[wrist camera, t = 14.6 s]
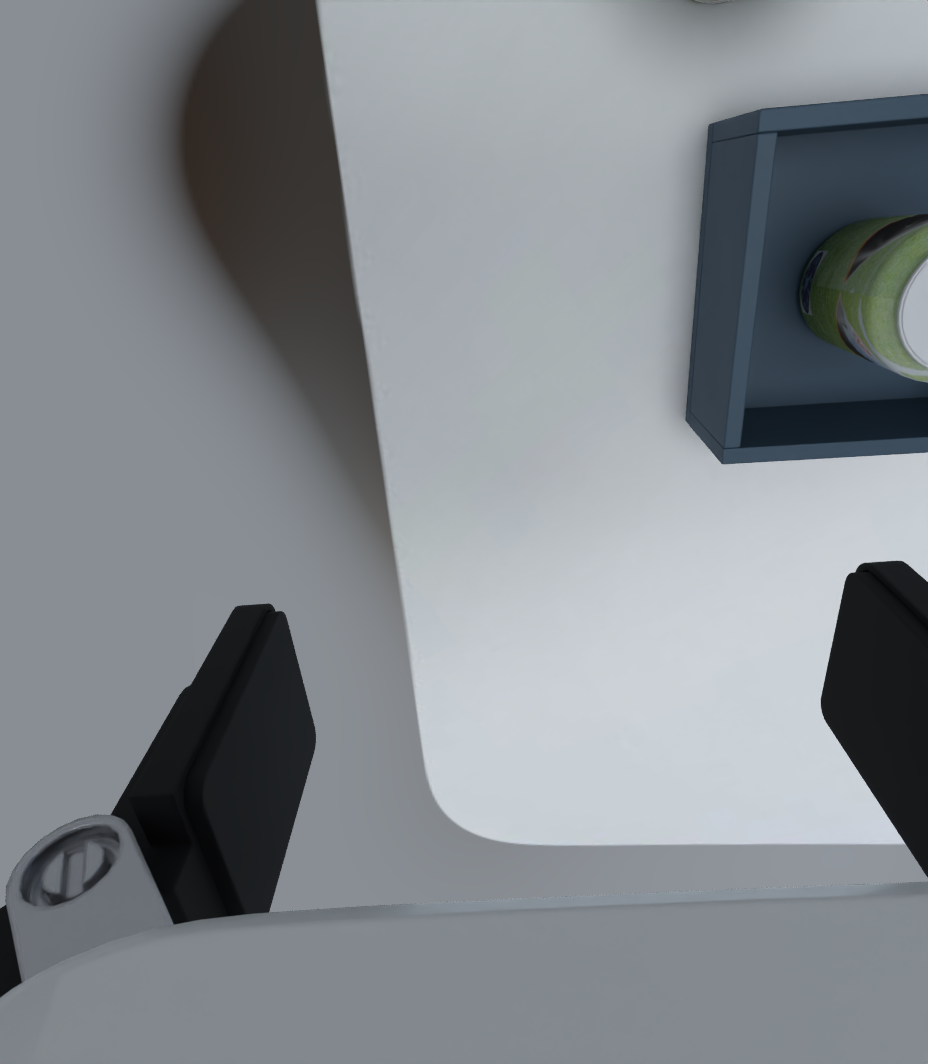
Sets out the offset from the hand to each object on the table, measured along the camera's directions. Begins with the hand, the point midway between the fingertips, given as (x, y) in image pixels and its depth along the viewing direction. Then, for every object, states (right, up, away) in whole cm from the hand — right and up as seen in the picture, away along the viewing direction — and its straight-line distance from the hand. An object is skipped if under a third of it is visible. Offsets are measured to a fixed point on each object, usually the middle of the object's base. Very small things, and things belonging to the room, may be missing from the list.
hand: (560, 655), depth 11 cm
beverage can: (+17, +15, +22) cm, 32 cm away
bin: (+17, +15, +23) cm, 33 cm away
